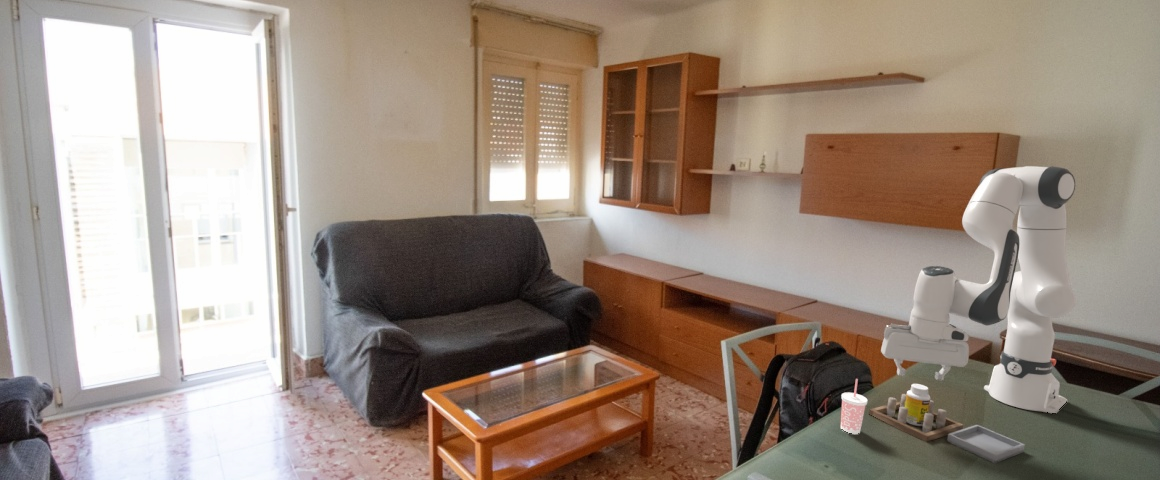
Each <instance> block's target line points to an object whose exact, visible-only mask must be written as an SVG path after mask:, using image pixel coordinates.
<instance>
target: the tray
mask: <svg viewBox="0 0 1160 480" xmlns="http://www.w3.org/2000/svg"><path fill="white" fill-rule="evenodd" d="M946 442H948V443H949V444H952V445H954V446H956V447H959V448H961V449H962V450H965V451H967V452H969V453H971V454H974V455H976V456H977V457H981V458H982V459H984V460H987V461H989V462H990V463H993V464H997V463H999V462H1001V461H1004V460H1007V459H1009V458H1012V457H1014V456H1017V455H1019V454H1022V453H1024V451H1025V445H1026V444H1025V443H1023V442H1020V441H1017V440H1015V439H1013V438H1010V437H1007V436H1005V435H1003V434H1000V433H999V432H996V431H993V430H991V429H989V428H987V427H983V426H982V425H979V424H975V425H974V424H973V425H971V426H968V427H965V428H963V429H962V430H959V431H956V432H953V433H950V434H948V435H947V439H946Z"/></svg>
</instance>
